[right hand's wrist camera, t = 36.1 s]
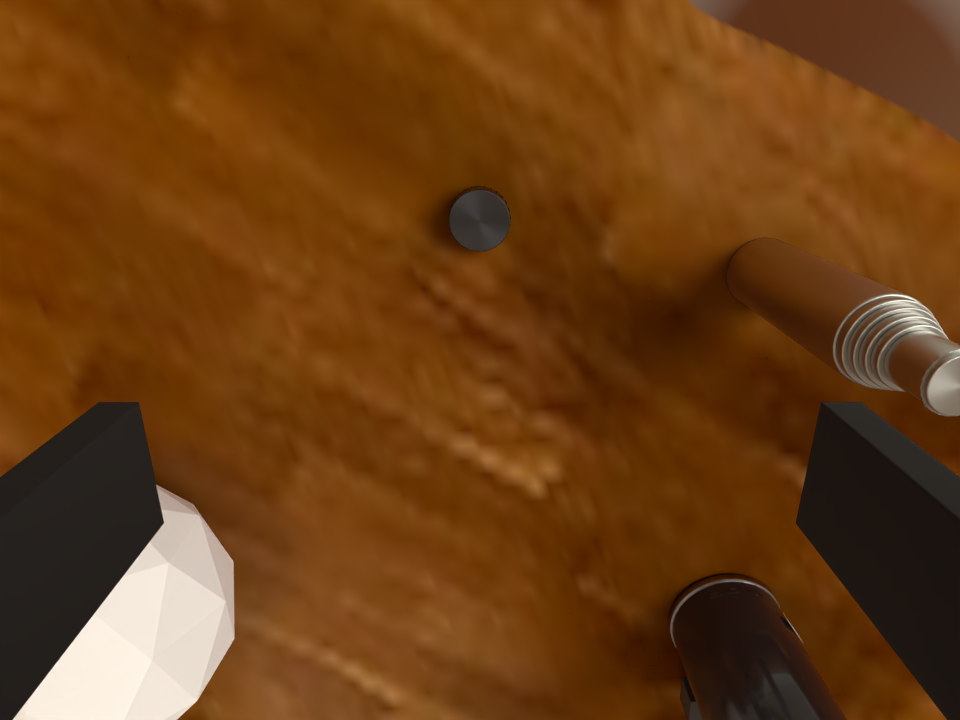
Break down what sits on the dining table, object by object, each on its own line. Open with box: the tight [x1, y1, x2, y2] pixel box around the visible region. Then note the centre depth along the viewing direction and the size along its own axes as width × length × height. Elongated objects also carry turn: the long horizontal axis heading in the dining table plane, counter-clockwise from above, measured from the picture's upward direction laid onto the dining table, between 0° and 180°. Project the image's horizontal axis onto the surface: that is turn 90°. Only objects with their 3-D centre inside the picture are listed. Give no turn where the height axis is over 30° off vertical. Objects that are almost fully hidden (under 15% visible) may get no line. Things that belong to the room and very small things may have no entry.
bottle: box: [727, 238, 960, 416], centre depth 35 cm, size 5×5×20 cm
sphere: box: [13, 485, 234, 720], centre depth 44 cm, size 19×20×20 cm
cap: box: [449, 186, 511, 251], centre depth 42 cm, size 4×4×2 cm
